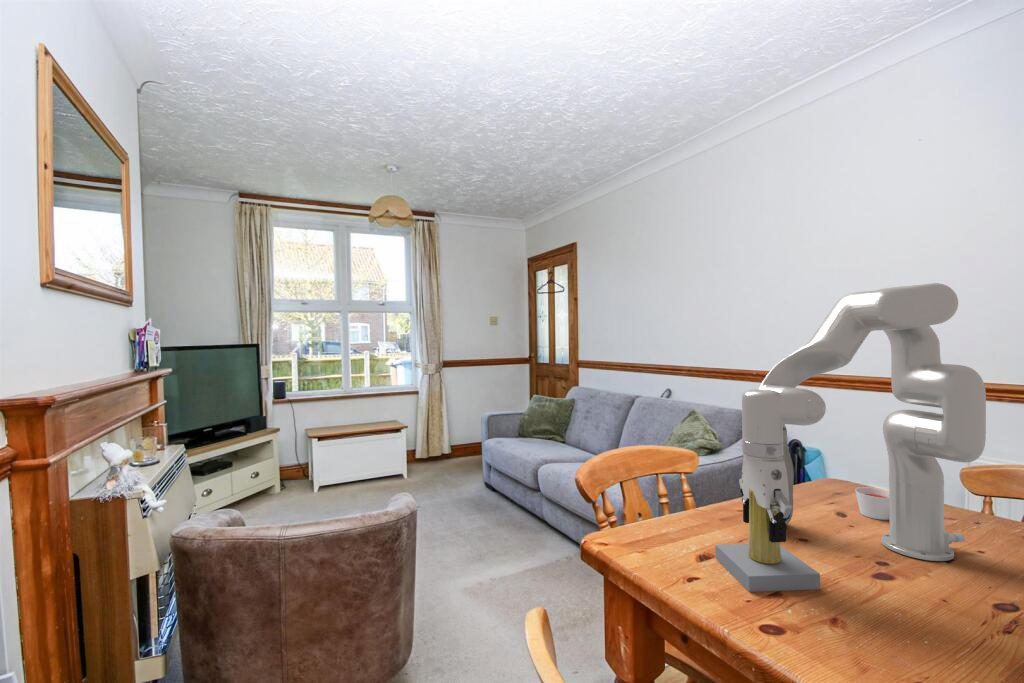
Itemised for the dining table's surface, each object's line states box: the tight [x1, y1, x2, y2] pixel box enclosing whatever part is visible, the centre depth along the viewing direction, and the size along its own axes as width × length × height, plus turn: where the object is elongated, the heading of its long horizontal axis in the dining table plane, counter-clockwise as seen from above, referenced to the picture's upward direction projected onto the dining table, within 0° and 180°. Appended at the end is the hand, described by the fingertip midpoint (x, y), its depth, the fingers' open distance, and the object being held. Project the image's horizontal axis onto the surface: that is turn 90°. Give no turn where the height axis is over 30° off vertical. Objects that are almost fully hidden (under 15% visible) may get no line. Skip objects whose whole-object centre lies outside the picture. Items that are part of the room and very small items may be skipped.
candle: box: [854, 486, 890, 521], centre depth 128 cm, size 9×9×6 cm
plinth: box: [714, 543, 821, 593], centre depth 98 cm, size 14×14×3 cm
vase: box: [748, 489, 781, 564], centre depth 98 cm, size 6×6×14 cm
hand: (763, 531), depth 98 cm, fingers open, 9 cm apart
